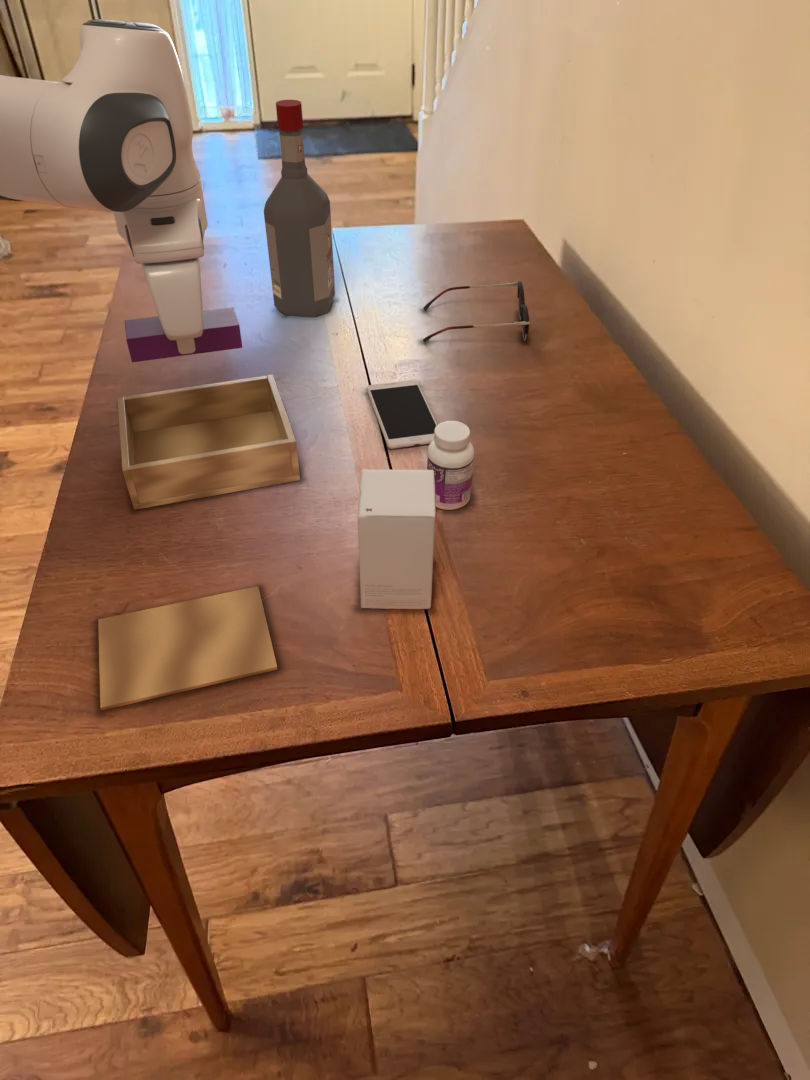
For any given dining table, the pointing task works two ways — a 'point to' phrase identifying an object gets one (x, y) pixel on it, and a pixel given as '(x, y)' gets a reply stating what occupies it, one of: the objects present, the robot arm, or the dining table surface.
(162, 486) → the open wooden box
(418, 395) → the smartphone
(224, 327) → the purple rectangular block
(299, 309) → the liquor
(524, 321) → the sunglasses
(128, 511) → the dining table surface
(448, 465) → the pill bottle
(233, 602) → the wooden board
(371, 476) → the white packaging box
